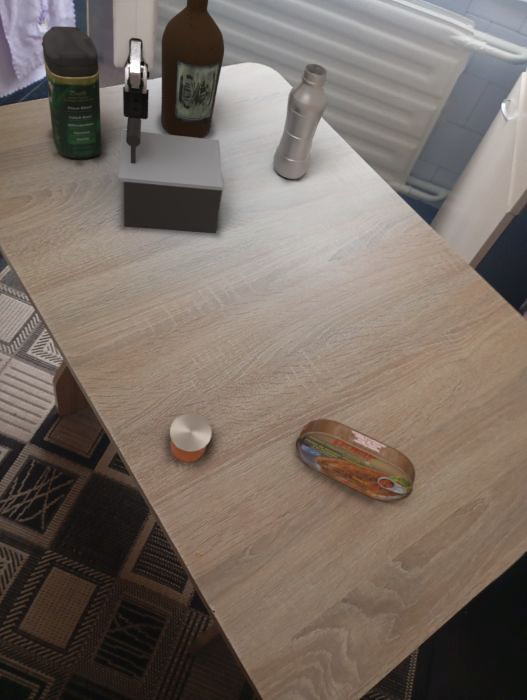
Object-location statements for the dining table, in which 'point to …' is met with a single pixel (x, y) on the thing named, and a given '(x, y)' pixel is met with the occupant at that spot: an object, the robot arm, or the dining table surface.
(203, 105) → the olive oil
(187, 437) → the coffee pod
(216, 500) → the dining table surface
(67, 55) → the coffee jar
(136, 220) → the dark brown box
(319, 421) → the tin
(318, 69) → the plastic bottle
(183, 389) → the dining table surface
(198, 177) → the box lid
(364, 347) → the dining table surface
